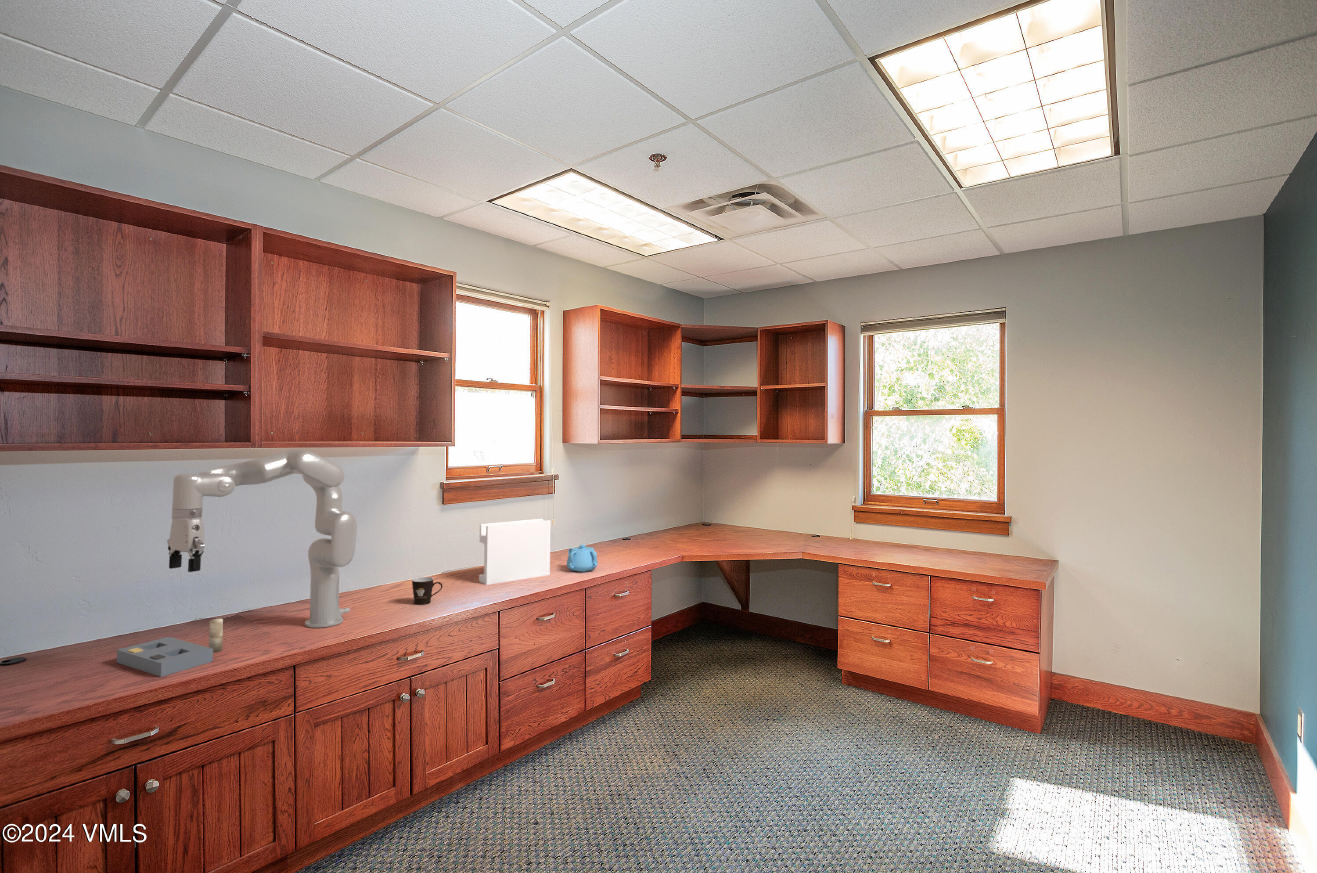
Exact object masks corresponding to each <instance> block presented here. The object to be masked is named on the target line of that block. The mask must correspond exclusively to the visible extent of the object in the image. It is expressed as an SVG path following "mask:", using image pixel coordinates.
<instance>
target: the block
mask: <svg viewBox="0 0 1317 873" xmlns="http://www.w3.org/2000/svg"><path fill="white" fill-rule="evenodd" d="M551 523H552V521H551V520H550V519H549V520H547V519H546V520H544V518H534V519H533V518H532V519H523V520H522V519H521V520H514V521H499V522H487V523H480V524H479V543H480V544H483V546H484V553H483V554H484V555H483V556H484V557H483V558H484V559H483V564H484V565H483V567H484V568H483V573H481V574H478V582H479V583H481V584H483V585H485V586H489V585H494V584H500V583H501V584H502V583H507V582H513V581H514V582H515V581H521V580H526V579H533V578H539V577H546V576H550V575H551V532H552V531H551V530H552V529H551V526H552V524H551Z"/></svg>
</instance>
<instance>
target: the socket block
mask: <svg viewBox="0 0 1317 873" xmlns="http://www.w3.org/2000/svg"><path fill="white" fill-rule="evenodd" d="M213 658H214V653H213V648H209V646H205V645H201V644H198V643H193V642H190V641H187V640H186V641H185V640H183V639H179V638H176V637H171V636H166V637H161V638H158V639H154V640H150V641H146V642H143V643H138V644H134V645H130V646H126V647H123V648H118V649H117V650H116V663H117V664H120V665H123V666H126V667H129V668H131V669H132V668H133V669H135V670H138V671H142V672H145V673H147V674H151V675H154V676H158V677H160V678H161V677H162V678H163V677H166V676H169V675H173V674H175V673H179V672H182V671H185V670H188V669H192V668H195V667H198V666H202V665H205V664H209V663H212V662H213V661H214V659H213Z"/></svg>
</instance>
